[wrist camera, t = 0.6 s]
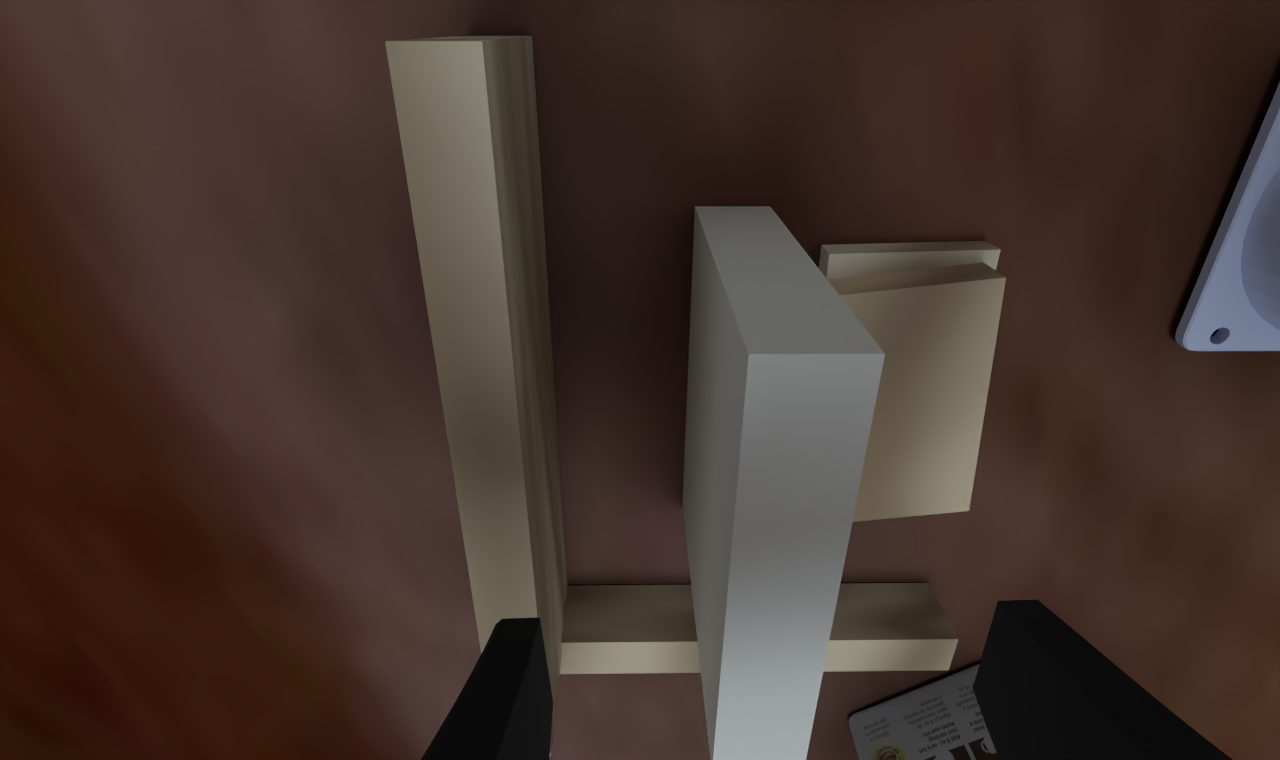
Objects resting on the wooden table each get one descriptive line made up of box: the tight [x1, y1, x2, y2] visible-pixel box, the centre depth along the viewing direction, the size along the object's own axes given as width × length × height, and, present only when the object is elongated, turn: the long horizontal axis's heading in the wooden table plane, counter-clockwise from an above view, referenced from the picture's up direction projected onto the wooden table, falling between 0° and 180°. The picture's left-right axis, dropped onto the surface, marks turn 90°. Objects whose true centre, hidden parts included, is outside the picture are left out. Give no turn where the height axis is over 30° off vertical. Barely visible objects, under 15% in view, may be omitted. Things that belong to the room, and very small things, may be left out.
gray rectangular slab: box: [682, 206, 885, 760], centre depth 16 cm, size 2×10×9 cm, turn 0°
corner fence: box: [385, 36, 959, 757], centre depth 18 cm, size 14×19×6 cm
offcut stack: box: [819, 241, 1006, 522], centre depth 19 cm, size 5×8×2 cm, turn 1°
